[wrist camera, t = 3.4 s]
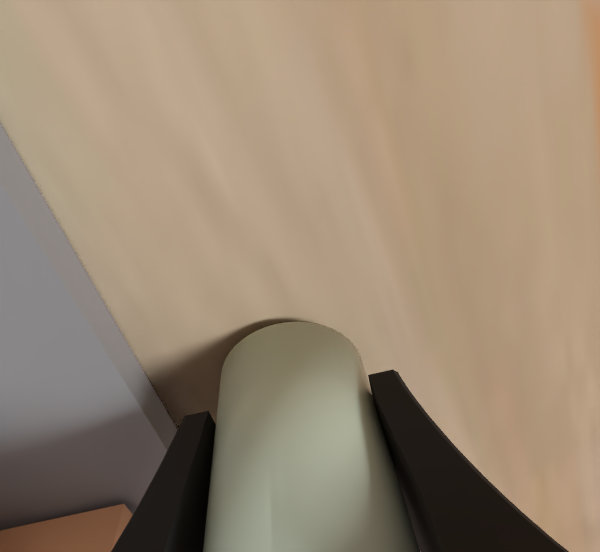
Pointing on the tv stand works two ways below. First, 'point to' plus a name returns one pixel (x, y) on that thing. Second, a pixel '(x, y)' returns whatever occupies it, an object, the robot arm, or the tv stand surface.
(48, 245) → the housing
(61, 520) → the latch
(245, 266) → the tv stand surface
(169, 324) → the tv stand surface
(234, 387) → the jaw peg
